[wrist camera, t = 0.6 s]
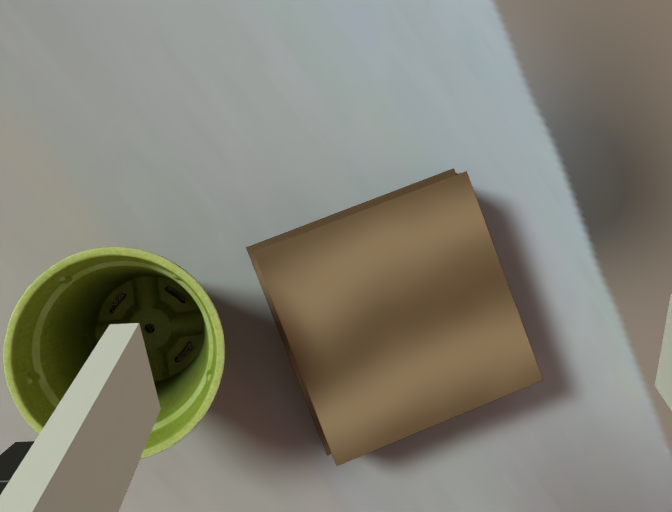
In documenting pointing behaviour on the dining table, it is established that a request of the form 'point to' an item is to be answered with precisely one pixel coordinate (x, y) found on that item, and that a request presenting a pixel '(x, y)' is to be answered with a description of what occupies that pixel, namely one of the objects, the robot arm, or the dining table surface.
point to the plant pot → (91, 323)
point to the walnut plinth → (395, 314)
